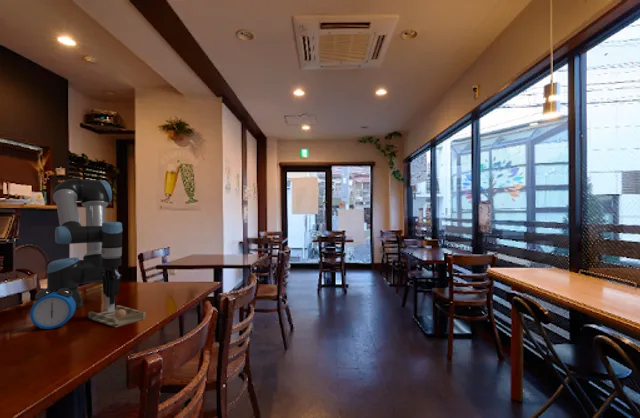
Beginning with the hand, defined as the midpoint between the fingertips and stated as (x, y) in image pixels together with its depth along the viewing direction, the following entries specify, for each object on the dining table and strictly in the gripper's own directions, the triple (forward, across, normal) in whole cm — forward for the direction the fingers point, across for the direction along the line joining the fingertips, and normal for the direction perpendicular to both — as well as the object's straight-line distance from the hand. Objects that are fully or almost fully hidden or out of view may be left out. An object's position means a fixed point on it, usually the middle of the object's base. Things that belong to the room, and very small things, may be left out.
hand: (110, 311), depth 140 cm
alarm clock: (+2, -5, -19) cm, 19 cm away
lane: (+2, +6, 0) cm, 6 cm away
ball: (0, +9, 0) cm, 9 cm away
